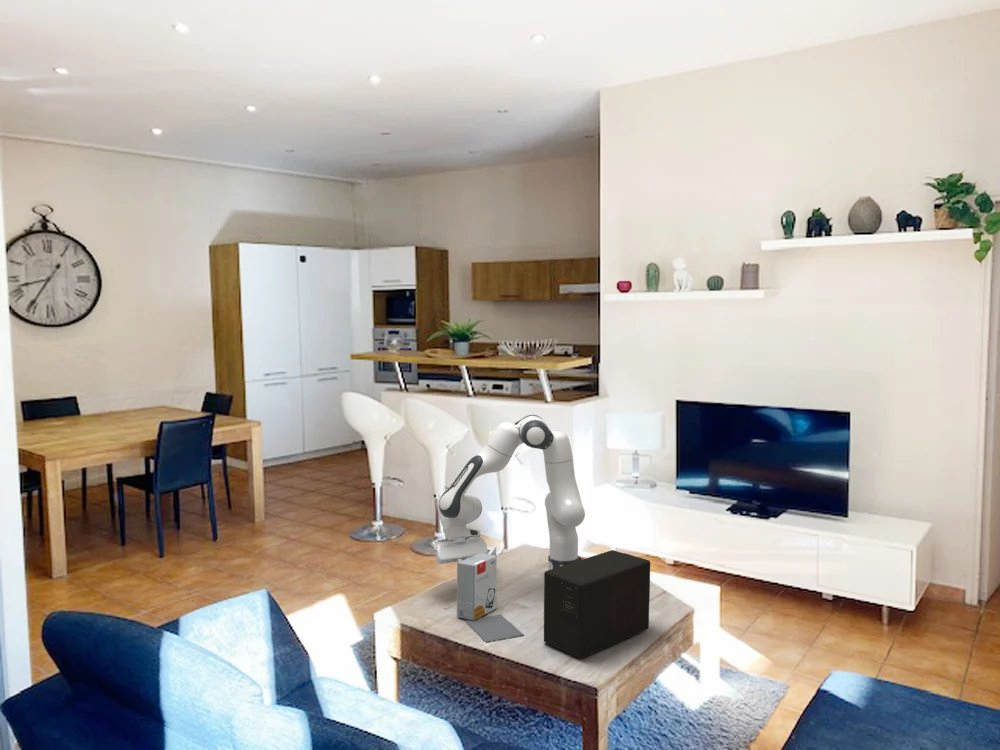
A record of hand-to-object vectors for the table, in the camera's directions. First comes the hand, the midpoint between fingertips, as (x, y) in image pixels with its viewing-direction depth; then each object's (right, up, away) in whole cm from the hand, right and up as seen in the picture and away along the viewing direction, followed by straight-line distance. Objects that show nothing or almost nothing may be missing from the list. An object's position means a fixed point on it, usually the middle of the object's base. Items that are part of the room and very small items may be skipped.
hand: (466, 570), depth 288 cm
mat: (+10, -15, -21) cm, 28 cm away
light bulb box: (+7, -10, +32) cm, 35 cm away
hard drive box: (+4, -14, -8) cm, 16 cm away
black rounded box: (+45, -16, -27) cm, 55 cm away
